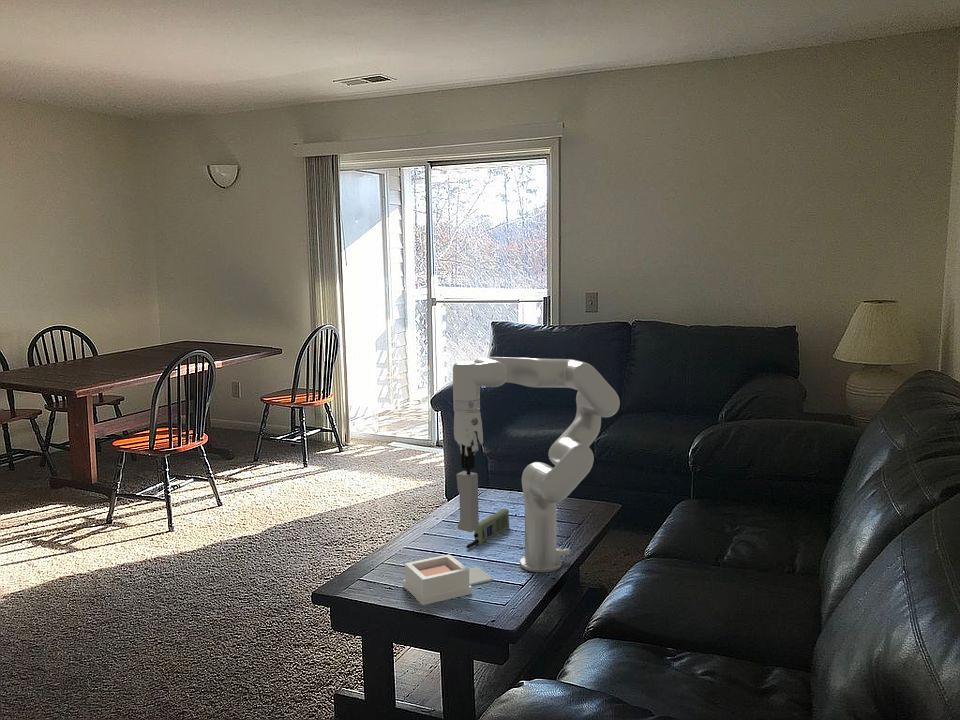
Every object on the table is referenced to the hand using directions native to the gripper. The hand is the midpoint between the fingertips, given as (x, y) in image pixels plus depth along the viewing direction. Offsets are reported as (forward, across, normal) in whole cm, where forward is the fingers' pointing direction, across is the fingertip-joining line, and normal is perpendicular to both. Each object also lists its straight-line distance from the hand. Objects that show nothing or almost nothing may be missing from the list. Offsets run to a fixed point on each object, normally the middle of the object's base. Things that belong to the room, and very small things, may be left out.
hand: (467, 467), depth 230 cm
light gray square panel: (+33, 0, 0) cm, 33 cm away
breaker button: (+31, -3, +12) cm, 33 cm away
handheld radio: (+34, +26, -20) cm, 47 cm away
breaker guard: (+33, -3, +12) cm, 35 cm away
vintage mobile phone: (+19, 0, 0) cm, 19 cm away
